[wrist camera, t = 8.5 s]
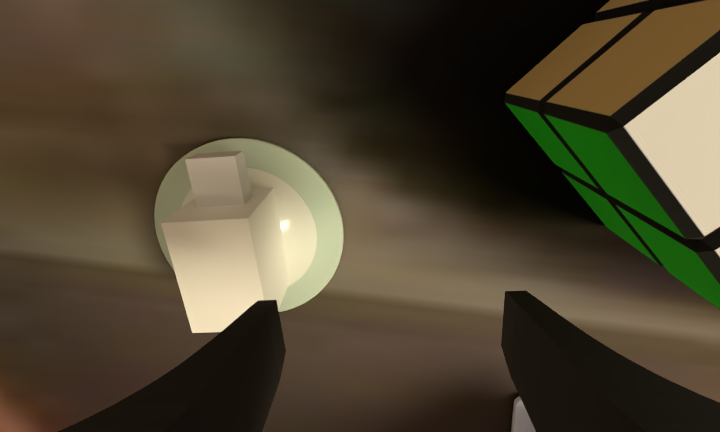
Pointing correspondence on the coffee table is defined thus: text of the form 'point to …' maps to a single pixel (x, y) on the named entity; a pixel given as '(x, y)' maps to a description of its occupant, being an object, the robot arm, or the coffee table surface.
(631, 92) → the puzzle cube
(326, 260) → the coaster
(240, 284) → the connector
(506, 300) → the robot arm
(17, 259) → the coffee table surface
